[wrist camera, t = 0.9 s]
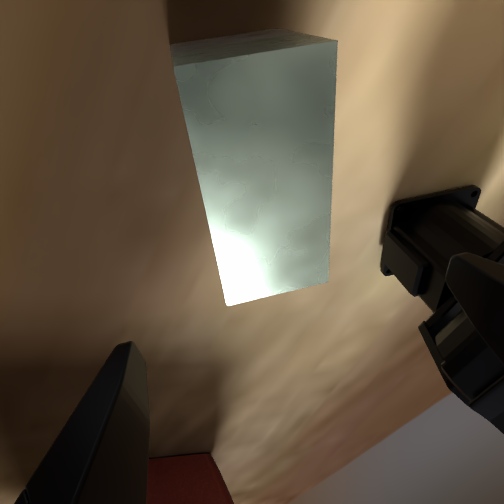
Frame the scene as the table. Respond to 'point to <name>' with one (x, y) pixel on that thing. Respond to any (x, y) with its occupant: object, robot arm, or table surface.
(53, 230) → the table surface
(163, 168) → the table surface
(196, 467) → the plant pot
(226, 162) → the block
